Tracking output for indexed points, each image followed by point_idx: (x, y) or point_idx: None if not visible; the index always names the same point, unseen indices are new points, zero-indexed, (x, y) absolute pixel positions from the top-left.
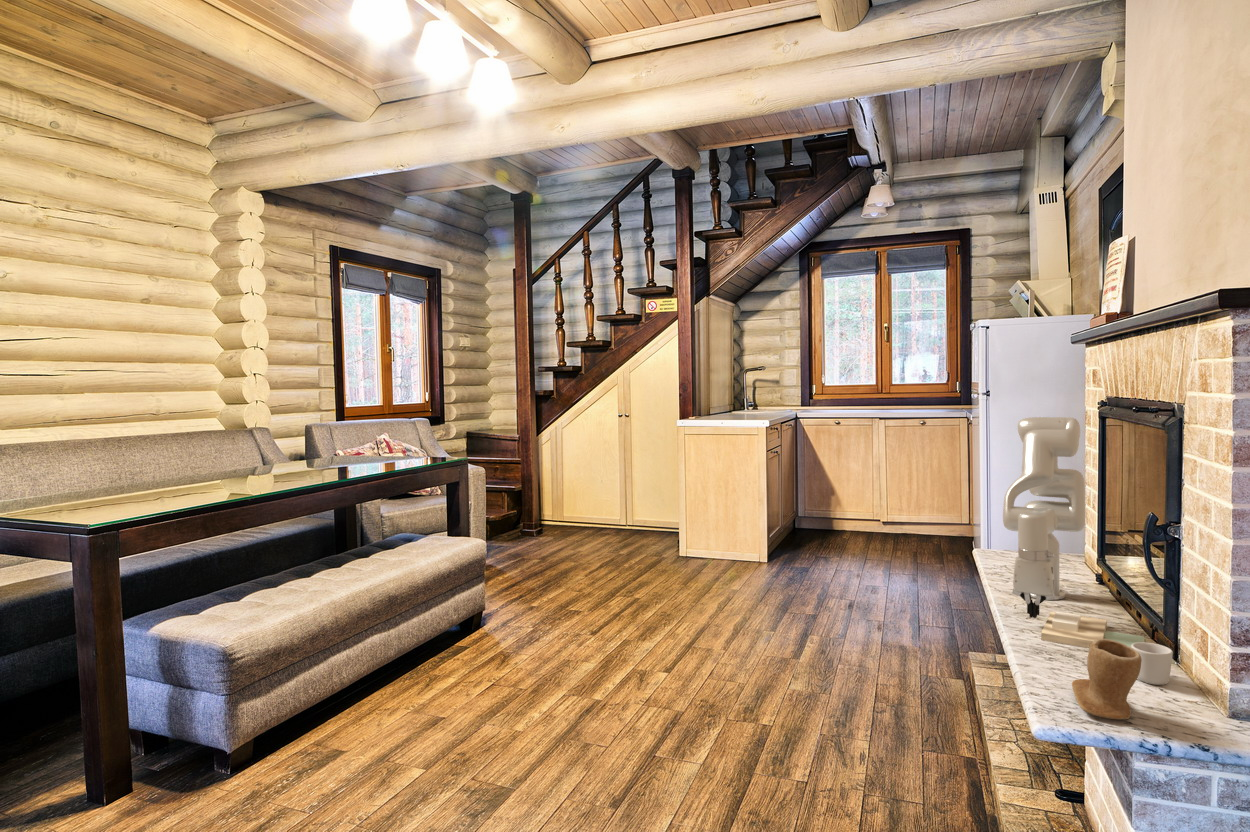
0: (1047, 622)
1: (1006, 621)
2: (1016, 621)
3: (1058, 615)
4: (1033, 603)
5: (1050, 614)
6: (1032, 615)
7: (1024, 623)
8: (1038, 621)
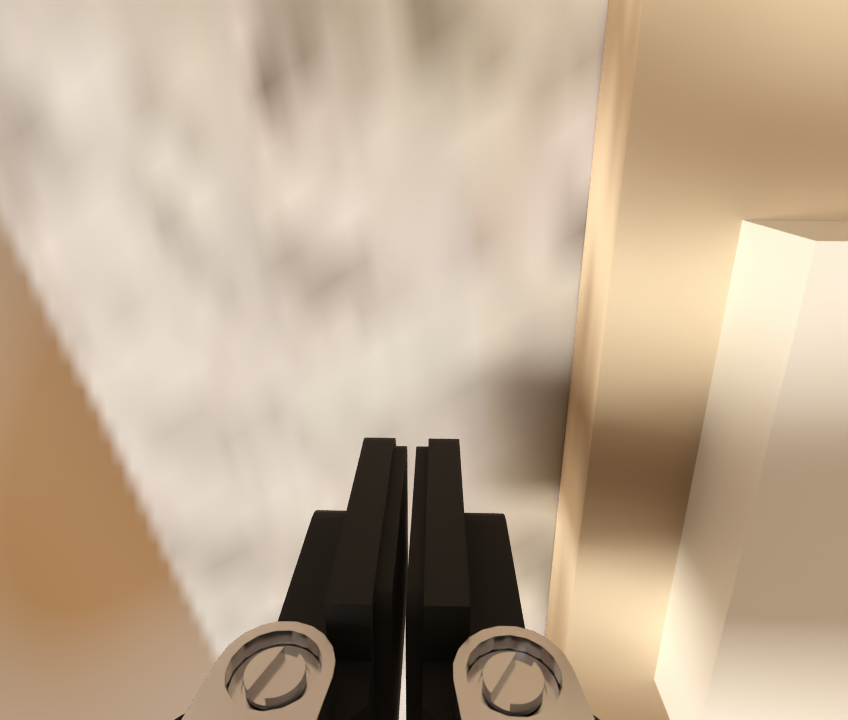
0: (601, 507)
1: (96, 394)
2: (196, 329)
3: (817, 488)
4: (393, 620)
5: (654, 23)
6: (406, 578)
7: (301, 362)
8: (450, 164)
